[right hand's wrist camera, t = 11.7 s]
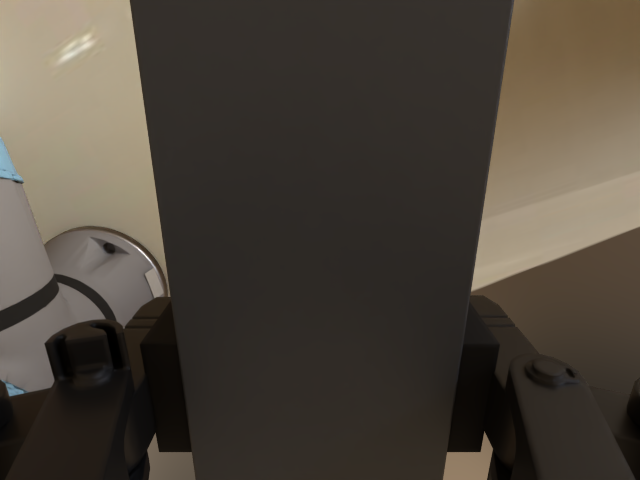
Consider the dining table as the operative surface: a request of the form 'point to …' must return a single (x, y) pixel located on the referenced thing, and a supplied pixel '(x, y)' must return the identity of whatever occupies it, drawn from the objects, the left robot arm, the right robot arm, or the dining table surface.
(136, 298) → the right robot arm
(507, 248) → the dining table surface
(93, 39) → the dining table surface
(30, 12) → the dining table surface
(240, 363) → the beam
